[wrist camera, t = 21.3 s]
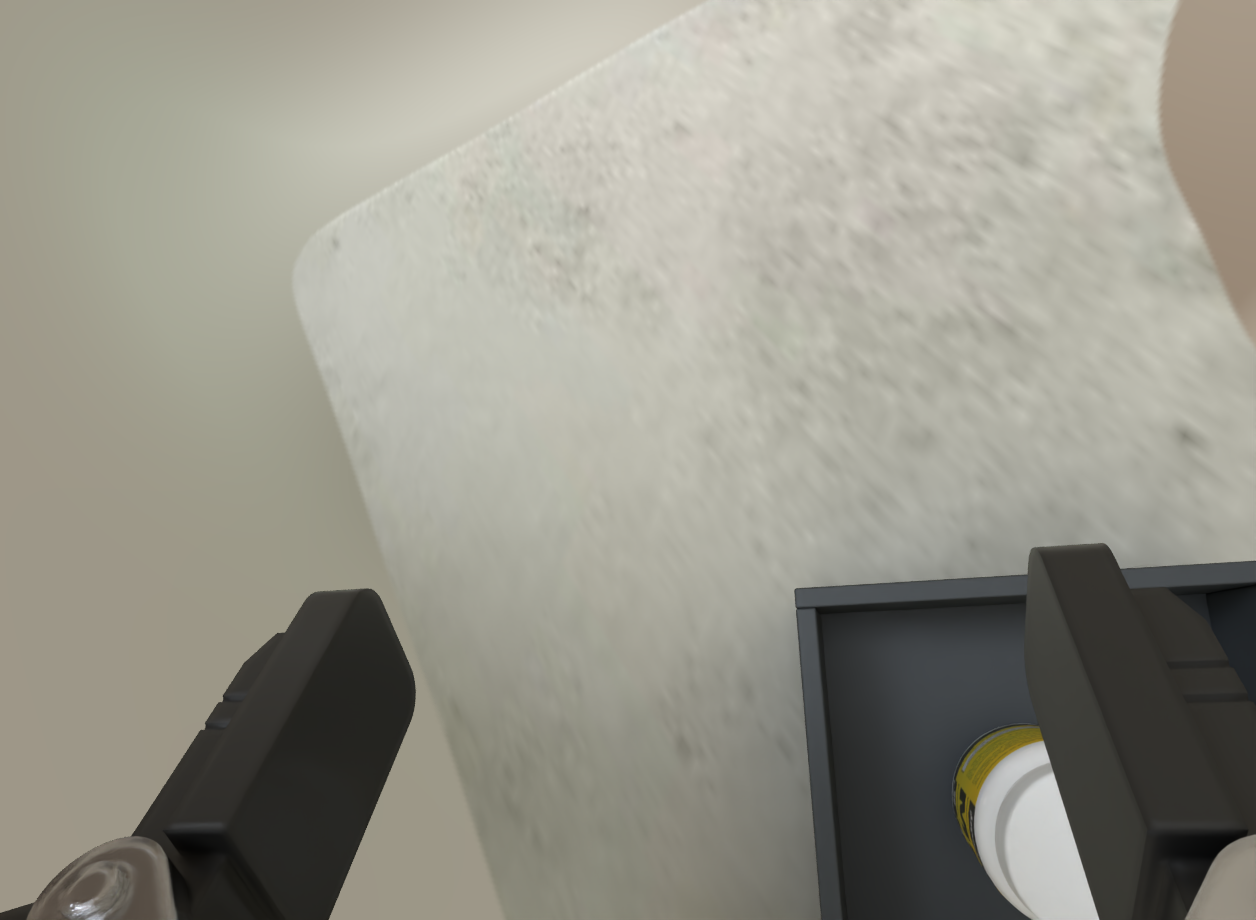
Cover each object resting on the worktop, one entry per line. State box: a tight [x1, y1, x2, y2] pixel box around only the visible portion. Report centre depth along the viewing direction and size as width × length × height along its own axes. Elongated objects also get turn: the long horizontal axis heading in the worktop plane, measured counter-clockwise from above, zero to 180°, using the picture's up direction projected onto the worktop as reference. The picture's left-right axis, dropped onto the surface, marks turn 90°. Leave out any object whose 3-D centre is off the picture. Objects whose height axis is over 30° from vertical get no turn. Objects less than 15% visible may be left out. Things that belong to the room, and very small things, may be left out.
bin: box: [794, 561, 1256, 920], centre depth 27 cm, size 13×13×5 cm
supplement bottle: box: [952, 723, 1099, 920], centre depth 25 cm, size 5×5×8 cm
